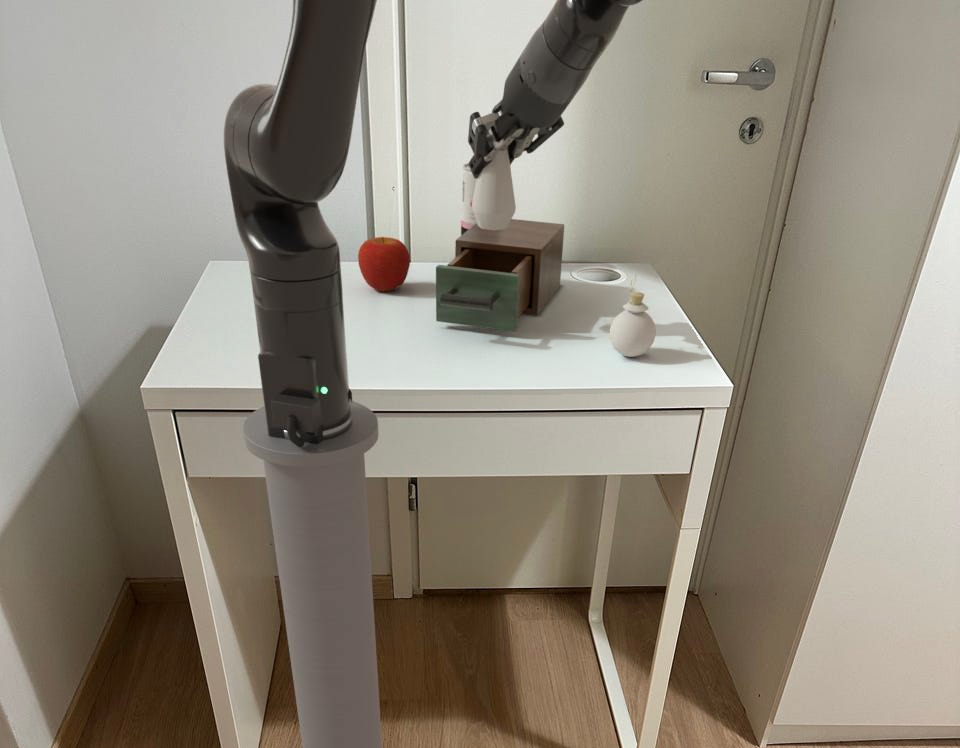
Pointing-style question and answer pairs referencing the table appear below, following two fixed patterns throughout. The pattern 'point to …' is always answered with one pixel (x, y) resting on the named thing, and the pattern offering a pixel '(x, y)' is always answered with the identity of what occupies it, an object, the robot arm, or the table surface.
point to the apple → (384, 263)
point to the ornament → (633, 327)
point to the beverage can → (467, 199)
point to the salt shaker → (494, 194)
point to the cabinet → (525, 252)
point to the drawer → (484, 288)
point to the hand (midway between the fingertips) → (485, 170)
